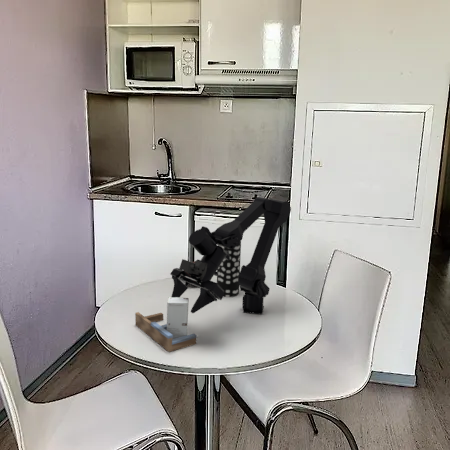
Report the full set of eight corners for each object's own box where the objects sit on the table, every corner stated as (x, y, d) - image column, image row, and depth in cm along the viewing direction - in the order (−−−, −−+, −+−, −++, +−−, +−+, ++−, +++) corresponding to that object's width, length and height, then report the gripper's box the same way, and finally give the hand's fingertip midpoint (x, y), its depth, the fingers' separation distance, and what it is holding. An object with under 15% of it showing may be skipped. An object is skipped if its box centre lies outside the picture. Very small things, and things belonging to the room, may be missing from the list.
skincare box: (165, 342, 141) (166, 302, 138) (167, 335, 145) (167, 296, 142) (187, 342, 141) (188, 303, 138) (188, 335, 145) (188, 297, 143)
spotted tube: (239, 297, 177) (241, 244, 173) (216, 296, 177) (217, 243, 173) (238, 289, 185) (240, 238, 181) (216, 288, 186) (218, 237, 181)
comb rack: (134, 324, 152) (134, 310, 151) (161, 318, 157) (161, 304, 156) (168, 352, 136) (168, 336, 135) (196, 343, 141) (197, 328, 140)
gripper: (175, 242, 148) (145, 285, 143) (218, 256, 135) (187, 304, 130) (194, 261, 155) (167, 303, 150) (237, 276, 143) (208, 322, 138)
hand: (181, 307), depth 142 cm, fingers open, 9 cm apart
